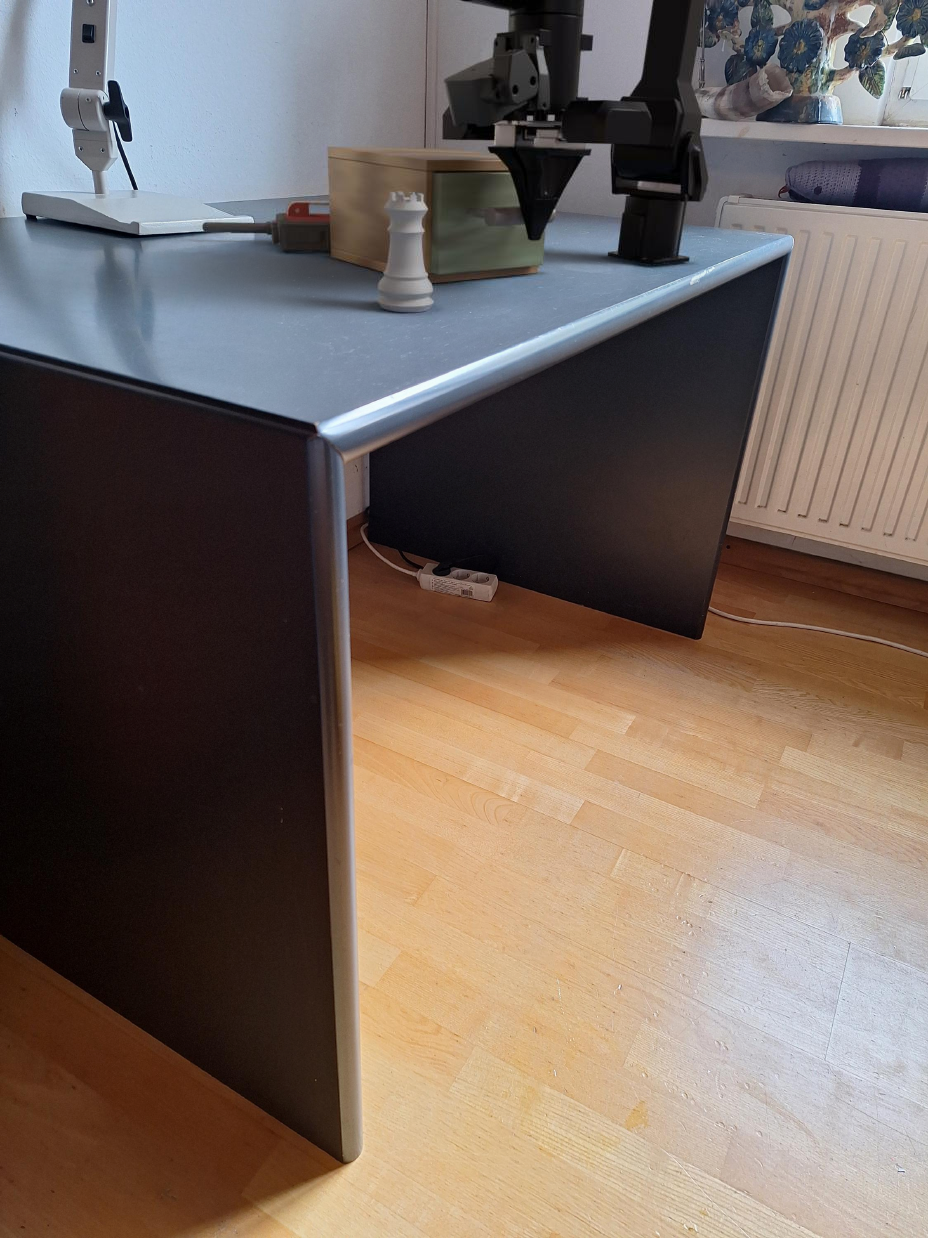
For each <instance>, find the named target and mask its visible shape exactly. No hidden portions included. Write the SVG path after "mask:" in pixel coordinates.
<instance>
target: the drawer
mask: <svg viewBox="0 0 928 1238" xmlns="http://www.w3.org/2000/svg"><path fill="white" fill-rule="evenodd" d="M556 213H557V211H556V208H555V209H554V211H553V213H552V215H551V217H550V219H549V221H548V223H547V224H552V223H553V222H554V221H555V219H556V215H557V214H556ZM546 229H547V226H546V227H545V229H544V231H543V233H542V236H541V239H540V240H538V241H530V240H528V236H527V231H526V228H525V224H524V220H523V216H522V212H521V208H520V204H519V200H518V196H517V193H516V189H515V186H514V183H513V180H512V177H511V174H510V171H434V173H433V182H432V227H431V273H434V274H438V275H441V274H452V273H463V272H474V271H484V270H495V269H506V268H517V267H528V266H538V267H539V266H543V264H544V263H543V262H544V253H545V251H544V250H545V239H546Z"/></svg>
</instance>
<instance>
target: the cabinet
mask: <svg viewBox="0 0 928 1238" xmlns="http://www.w3.org/2000/svg"><path fill="white" fill-rule="evenodd" d="M326 149H327V178H328V179H327V181H328V201H329V205H328V207H329V208H328V209H329V214H330V242H331V252H330V257H331V258H333V259H336V260H338V261H339V260H340V261H343V262H347V263H350V264H353V265H357V266H359V267H364V268H366V269H367V268H368V269H371V270H373V271H374V270H375V271H377V272H381V273H383V272H384V271H385V270H386V267H387V263H388V256H389V248H390V233H389V232H388V230H387V229H388V227H389V226H390V222H391V220H390V216H389V214H388V213H387V211H386V209H385V208H384V206H385V205H386V203H387V202H388V200H389V192H395V194H396V192H403V194H404V197H408V192H415V195H417V193H422V194H423V202H424V203H425V205H426V206H427V208H428V210H427V212H426V214H425V215H424V217H423V218H422V228H423V229H424V231H425V232H424V233H423V235H422V252H423V262H424V267H425V272H426V273H428V277H427V278H428V280H429V281H430V282H431V284H440V283H441V284H442V283H450V282H459V281H469V280H480V279H481V280H482V279H489V278H490V279H491V278H501V277H511V276H520V275H532V274H537V273H538V271H539V266H528V267H517V268H506V269H495V270H484V271H474V272H463V273H452V274H441V275H438V274H434V273H431V227H432V182H433V173H434V171H509V169H508V168H507V167H506V166H505V164H504V163H503V162H502V161H501V160H500V159H499V157H498V156H497V155H496V154H494V153H490V152H489V153H488V152H479V151H471V150H462V149H453V148H444V147H436V148H435V147H371V146H370V147H368V146H367V147H365V146H364V147H362V146H361V147H359V146H350V147H349V146H328V147H327V148H326Z"/></svg>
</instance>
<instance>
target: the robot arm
mask: <svg viewBox="0 0 928 1238" xmlns="http://www.w3.org/2000/svg"><path fill="white" fill-rule="evenodd" d="M460 1H461V2H465V3H469V4H470V3H471V4H475V5H479V6H484V7H488V8H494V9H499V10H504V11H508V18H507V19H508V21H507V31H505V32H504V31H503V32H496V37H495V38H494V40H493V46H492V47H493V48H492V57H490V58H488V59H485V60H483V61H480V62H477V63H474V64H472V65H471V66H469V67H466V68H464V69H462V70H460V71H458V72H455V73H454V74H452V75H450V76H447V77H445V79H443V84H444V89H445V93H446V98H447V101H448V106H447V108H446V110H444V112H443V114H442V120H441V121H442V124H441V125H442V127H441V128H442V129H441V131H442V134H441V135H442V139H441V140H444V141H445V140H446V141H493V142H494V143H493V145H492V146H491V145H490V146H489V145H488V146H487V150H488V152H489V154H496V155H497V156H498V157H499V159H500V160H501V161H502V162H503V163H504V164H505V166H506V167H507V168H508V169H509V171H510V174H511V177H512V180H513V183H514V186H515V189H516V193H517V196H518V200H519V204H520V208H521V212H522V216H523V220H524V224H525V228H526V231H527V236H528V240H530V241H538V240H540V239H541V236H542V233H543V231H544V229H545V227H546V228H547V226H548V224H549V223H548V221H549V219H550V217H551V215H552V213H553V211H554V209H555V210H556V207H557V205H558V203H559V201H560V198H561V197H562V195H563V192H565V191H564V190H566V187H567V185H568V184H569V182H570V181H571V179H572V177H573V176H574V174H575V172H576V170H577V169H578V167H579V165H580V163H581V162H582V160H583V158H584V157H589V156H591V154H592V148H587V147H586V144H590V145H591V144H592V145H593V144H595V145H596V144H597V145H598V144H599V145H610V149H609V151H610V154H609V155H610V179H611V180H610V181H611V194H612V195H616V196H619V195H624V196H625V195H626V196H625V200H624V202H625V203H624V210H623V212H622V213H621V221H620V228H619V234H618V235H619V237H618V244H617V250H614V251H613V250H612V251H607V257H609V258H612V259H613V258H614V259H619V260H623V261H629V262H633V263H638V264H642V265H646V266H647V265H649V266H660V265H670V264H679V263H687V262H688V263H689V262H690V256H686V255H681V254H680V248H681V243H682V242H681V241H682V236H683V229H684V223H685V218H686V211H687V203H689V202H692V203H693V202H695V203H701V202H702V201H703V199H704V197H705V193H706V192H707V189H708V188H707V186H708V183H709V173H708V167H707V161H706V157H705V152H704V151H705V150H704V147H703V141H702V137H701V130H702V122H703V114H702V110H701V107H700V105H699V102H698V99H697V95H696V92H695V89H694V87H693V74H694V69H695V64H696V57H697V51H698V47H699V41H700V33H701V27H702V21H703V16H704V10H705V5H706V0H652V3H651V9H650V10H651V11H650V16H649V24H648V30H647V37H646V43H645V44H646V45H645V52H644V57H643V58H644V59H643V65H642V71H641V76H640V79H639V81H638V83H637V84H636V85H635V87H634V88H633V89H632V91H631V93H630V94H629V95H623V96H621V97H620V99H619V100H611V99H610V100H609V99H589V97H587V96H579V84H580V83H579V82H580V70H581V56H582V55H581V54H582V52H593V45H594V35H593V34H587V33H583V29H584V28H583V27H584V16H585V15H584V14H585V13H584V11H585V0H460ZM549 116H554V118H553V120H549ZM528 117H532V120H528ZM639 182H642V183H643V182H644V183H652V184H653V183H654V184H662V185H663V184H664V185H673V186H680V189H672V188H663V187H654V186H644V185H639ZM545 230H546V229H545Z"/></svg>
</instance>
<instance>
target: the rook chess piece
mask: <svg viewBox="0 0 928 1238" xmlns="http://www.w3.org/2000/svg"><path fill="white" fill-rule="evenodd" d="M384 208H385V209H386V211H387V213H388V214H389V216H390V220H391V222H390V226H389V227H388V229H387V230H388V232H389V233H390V248H389V256H388V263H387V267H386V270H385V271H384V272H382V273H383V277H382V278H381V279H380V280H379V281H378V285H377V290H378V291H379V293H380V294H381V295H380V296H378V297H377V298H376V302H377V303H378V305H379V306H380V308H382V309H383V310H385V311H390V312H396V313H422V312H426V311H428V310H430V309H431V307H432V306H433V305H434V303H435V301H434V299H433V298H431V294H432V293H433V292H434V287H433V283H431V282H430V281H429V280H428V278H427V277H428V273H426V272H425V267H424V262H423V252H422V235H423V233H424V232H425V231H424V229H423V228H422V218H423V217H424V215H425V214H426V212H427V210H428V208H427V206H426V205H425V203H424V202H423V194H422V193H417V195H415V192H408V197H404V194H403V192H396V194H395V192H389V200H388V202H387V203H386V205H385V206H384Z"/></svg>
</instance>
